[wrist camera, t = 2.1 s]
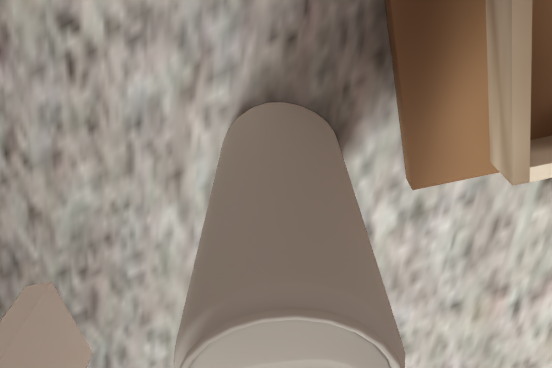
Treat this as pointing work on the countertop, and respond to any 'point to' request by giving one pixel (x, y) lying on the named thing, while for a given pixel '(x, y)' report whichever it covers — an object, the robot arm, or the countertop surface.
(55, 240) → the countertop surface
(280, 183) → the beverage can
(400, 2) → the socket board
